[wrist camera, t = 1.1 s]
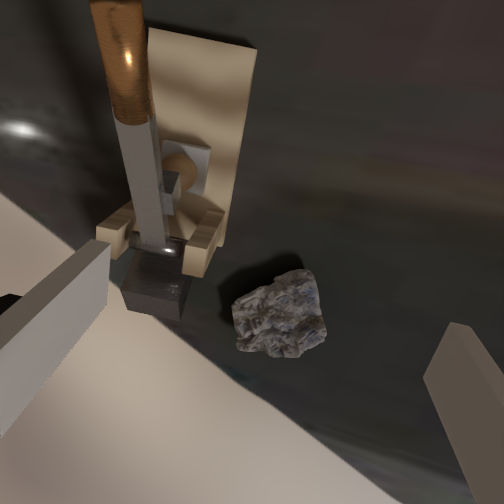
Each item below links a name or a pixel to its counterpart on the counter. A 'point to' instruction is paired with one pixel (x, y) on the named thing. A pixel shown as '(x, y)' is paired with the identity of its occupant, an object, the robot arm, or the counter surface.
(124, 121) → the lever
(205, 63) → the tan angle plate
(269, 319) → the rock
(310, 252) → the counter surface
